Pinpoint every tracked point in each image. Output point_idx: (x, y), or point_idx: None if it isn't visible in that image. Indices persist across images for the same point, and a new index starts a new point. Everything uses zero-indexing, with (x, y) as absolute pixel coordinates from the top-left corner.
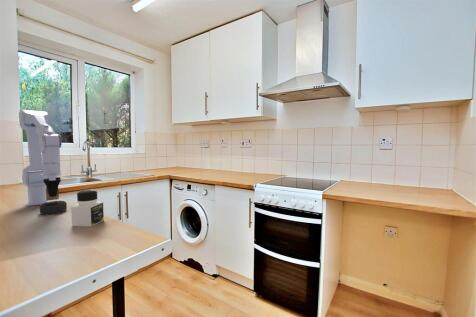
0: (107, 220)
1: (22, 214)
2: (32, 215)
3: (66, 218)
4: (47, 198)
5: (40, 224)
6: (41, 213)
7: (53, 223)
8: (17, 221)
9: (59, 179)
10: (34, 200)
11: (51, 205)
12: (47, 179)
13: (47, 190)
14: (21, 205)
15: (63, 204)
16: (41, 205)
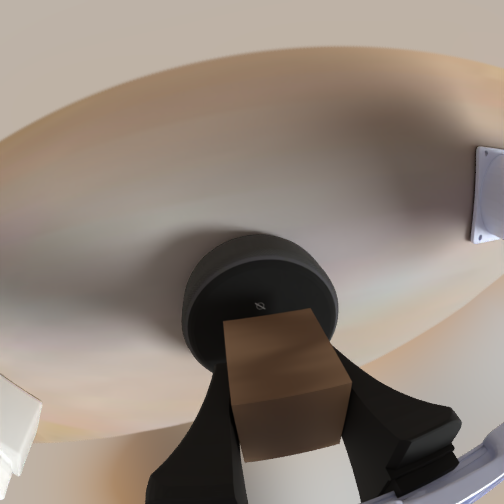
0: None
1: (295, 132)
2: (225, 195)
3: (76, 358)
4: (225, 338)
5: (16, 273)
6: (219, 246)
7: (19, 317)
8: (110, 145)
9: (360, 498)
10: (497, 185)
11: (187, 330)
12: (390, 461)
13: (233, 395)
14: (500, 126)
15: None
16: (230, 269)
